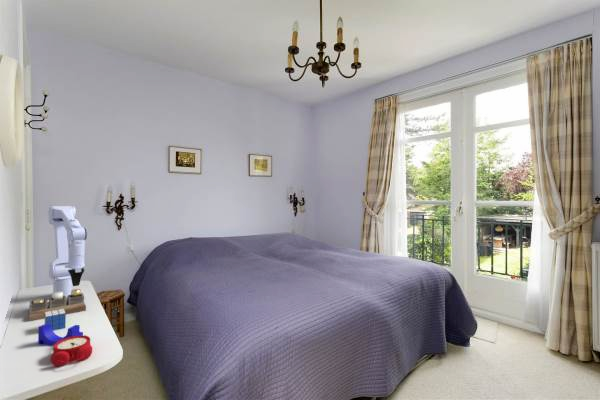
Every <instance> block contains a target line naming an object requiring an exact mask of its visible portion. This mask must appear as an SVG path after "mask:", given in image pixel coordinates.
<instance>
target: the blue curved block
mask: <svg viewBox="0 0 600 400" xmlns="http://www.w3.org/2000/svg"><path fill="white" fill-rule="evenodd" d="M80 329H81V328H80V325H79V324H75V325H73V326H71V327H68V328H67V333H66V334H65V336H63V337H62V336H59V335H57V334H56V333H55V331H53V330H52V327H51V323H46V324H45V323H44V324H42V325H38V331H37V333H38V336H37V337H38V339H37V342H38V343H37V344H38V345H41V346H42V345H44V346H54V345H55V343H57V341H60V340H63V339H65V338H68V337H73V336H80V335H83V336H84V331H80Z"/></svg>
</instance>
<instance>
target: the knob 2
mask: <svg viewBox="0 0 600 400" xmlns="http://www.w3.org/2000/svg"><path fill="white" fill-rule="evenodd" d="M81 290H82V289H80V288H75V289H72V290H71V297H78V296H81V293H82V291H81Z"/></svg>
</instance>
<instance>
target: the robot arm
mask: <svg viewBox="0 0 600 400" xmlns="http://www.w3.org/2000/svg"><path fill="white" fill-rule="evenodd" d="M76 211H77V210H76V207H75V205H65V206H64V205H63V206H61V205H55V206H54V205H50V206H49V207H48V211H47V213H48V215H47V216H48V222H49V225H51V226H52V225H53V229H54V239H55V255H56V257H55V258H54V260H53V261H51V262H50V263H49V265H48V266H49V270H48V277H49V279H51V280H52V281H53V282H52V283H53V284H52V285H53V286H52V294H51V298H52V297H53V293H55V292H63V296H66V299H67V296H68V295H71V290H73V287H78V286H79V285H80V283H81V279H82V276H83V274H84V272H85V268H84V267H85V266H86V265H85V254H86V253H85V245H86V240H87V237H88V230H87V228H86V226H82V225H81V223H80V221H79V220H78V219H76V218H75V217H76V213H77V212H76Z"/></svg>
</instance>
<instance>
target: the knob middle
mask: <svg viewBox="0 0 600 400" xmlns="http://www.w3.org/2000/svg"><path fill="white" fill-rule="evenodd" d="M52 294H53V300H59V299H63V292H55V293H53V292H52Z"/></svg>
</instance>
